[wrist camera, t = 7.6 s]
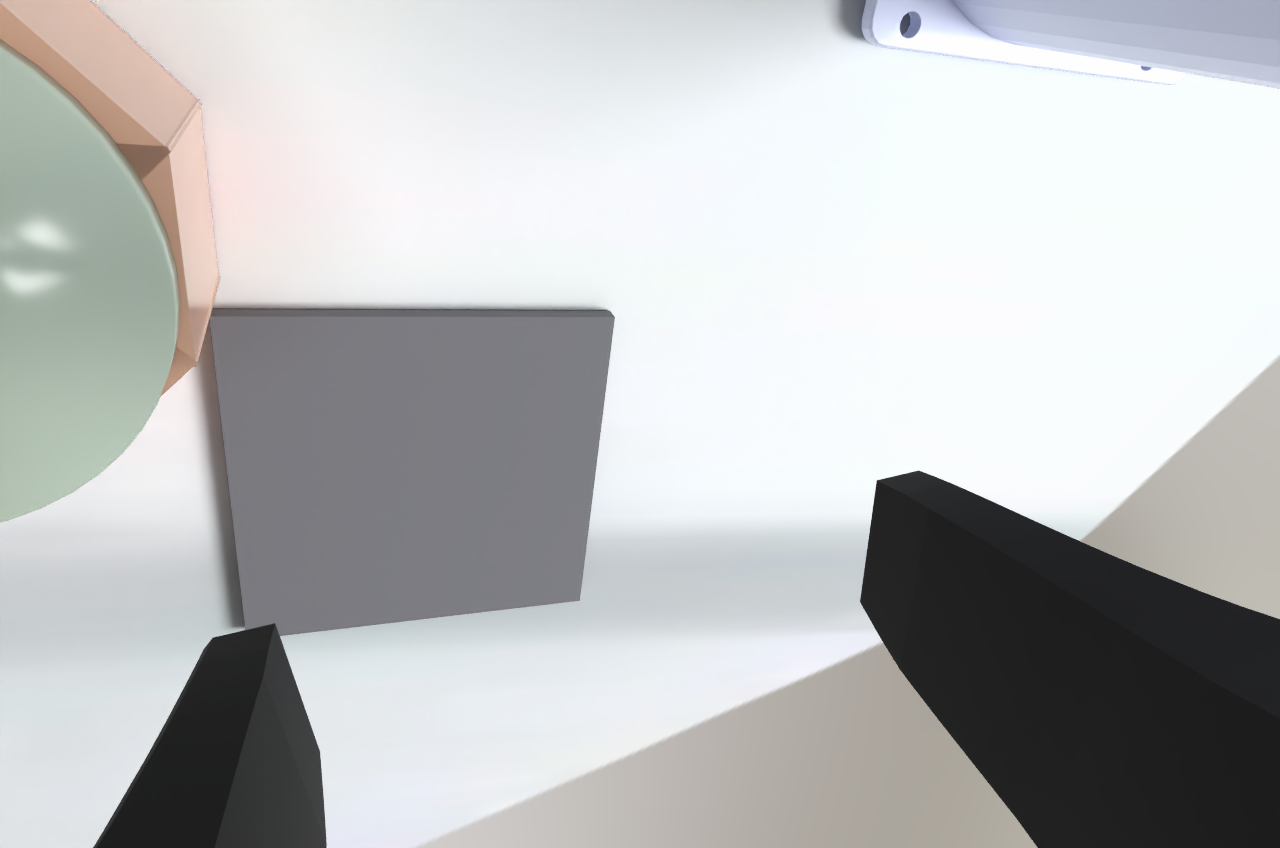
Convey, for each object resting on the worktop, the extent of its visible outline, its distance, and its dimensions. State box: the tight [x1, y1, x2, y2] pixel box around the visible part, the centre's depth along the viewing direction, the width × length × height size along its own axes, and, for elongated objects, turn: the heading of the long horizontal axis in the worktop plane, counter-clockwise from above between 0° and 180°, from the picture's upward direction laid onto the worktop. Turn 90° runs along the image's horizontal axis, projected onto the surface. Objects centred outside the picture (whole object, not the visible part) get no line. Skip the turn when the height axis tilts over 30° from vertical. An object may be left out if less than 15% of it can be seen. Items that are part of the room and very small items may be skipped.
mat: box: [209, 309, 615, 636], centre depth 20 cm, size 8×8×1 cm
